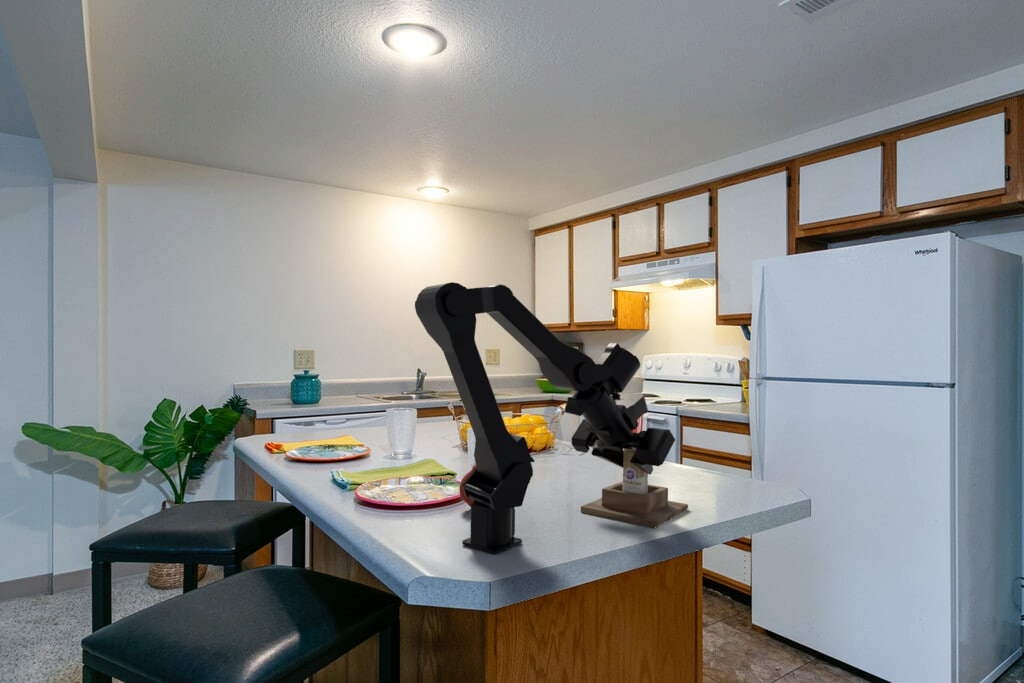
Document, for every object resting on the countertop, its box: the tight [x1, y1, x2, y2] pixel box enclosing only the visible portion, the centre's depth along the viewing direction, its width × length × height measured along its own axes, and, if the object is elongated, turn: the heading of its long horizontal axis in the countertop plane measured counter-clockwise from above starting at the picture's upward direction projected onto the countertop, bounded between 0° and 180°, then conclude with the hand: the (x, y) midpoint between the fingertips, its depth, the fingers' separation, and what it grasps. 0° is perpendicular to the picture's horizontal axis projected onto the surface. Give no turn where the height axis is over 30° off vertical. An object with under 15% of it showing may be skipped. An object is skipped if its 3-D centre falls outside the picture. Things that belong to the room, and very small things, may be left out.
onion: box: [458, 463, 476, 508], centre depth 104 cm, size 6×6×8 cm
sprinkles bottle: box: [622, 448, 649, 495], centre depth 105 cm, size 5×5×14 cm
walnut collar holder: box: [580, 481, 689, 529], centre depth 105 cm, size 14×14×4 cm
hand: (640, 470), depth 106 cm, fingers closed on sprinkles bottle, 4 cm apart
